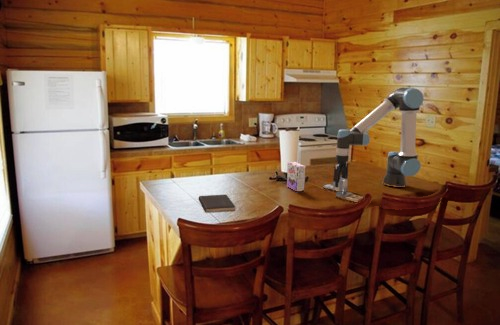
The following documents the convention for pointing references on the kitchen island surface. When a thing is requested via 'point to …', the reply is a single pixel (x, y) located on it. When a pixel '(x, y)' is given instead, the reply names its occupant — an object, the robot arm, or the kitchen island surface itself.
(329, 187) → the grey l-shaped block
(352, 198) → the frame leaf
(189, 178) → the kitchen island surface
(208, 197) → the hardcover book
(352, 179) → the kitchen island surface
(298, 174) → the candy box
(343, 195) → the gray block on stand
